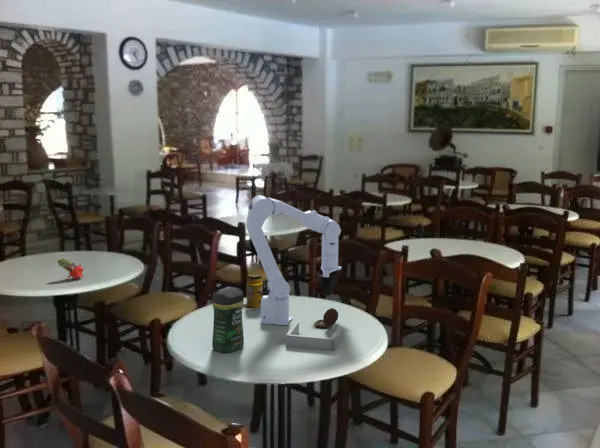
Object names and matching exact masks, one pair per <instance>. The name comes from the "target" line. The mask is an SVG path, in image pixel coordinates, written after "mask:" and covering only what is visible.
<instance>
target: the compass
mask: <svg viewBox="0 0 600 448" xmlns="http://www.w3.org/2000/svg"><path fill="white" fill-rule="evenodd" d="M338 318H339V311H338V310H337V309H336V308H333V307H330V308H329V309H327V310H326V311H325V312H324V314H323V319H317V320H316V321H315V322H313V324H312V325H311V327H312V328H318V329H330V328H331V327H333V326H334V325H335V324H336V322H337V321H338V320H339V319H338Z"/></svg>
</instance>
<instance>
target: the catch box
mask: <svg viewBox="0 0 600 448" xmlns="http://www.w3.org/2000/svg"><path fill="white" fill-rule="evenodd" d="M299 332H300V322H299V321H296V322H294V323H293V325H292V326H291V328H290V329H289V330H288V332H286V334H285V347H293V348H294V347H295V348H303V349H312V350H313V349H314V350H323V351H334V350H335V348H336V346H337V344H338V342H339V341H340V339H341V336H342V326H341V325H337V326H336V328H335V330H334V332H333V334H332V335H331V337H322V336H321V337H320V336H309V335H300V334H299Z"/></svg>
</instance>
